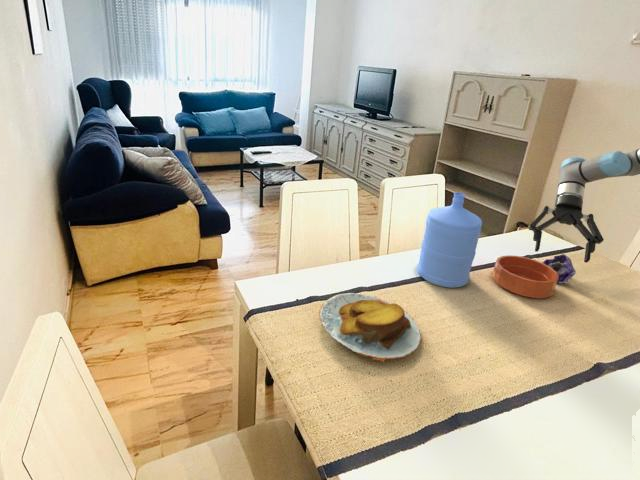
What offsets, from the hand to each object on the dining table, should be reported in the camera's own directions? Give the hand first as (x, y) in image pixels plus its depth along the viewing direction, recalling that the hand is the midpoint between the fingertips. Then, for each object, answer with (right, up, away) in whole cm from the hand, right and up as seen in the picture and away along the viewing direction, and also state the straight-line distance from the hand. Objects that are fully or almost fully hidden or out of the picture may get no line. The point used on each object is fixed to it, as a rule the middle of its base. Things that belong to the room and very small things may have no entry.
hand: (561, 255), depth 125 cm
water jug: (-39, -7, 0) cm, 40 cm away
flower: (-1, -8, +2) cm, 8 cm away
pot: (-15, -9, -4) cm, 18 cm away
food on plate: (-69, -16, -27) cm, 76 cm away
